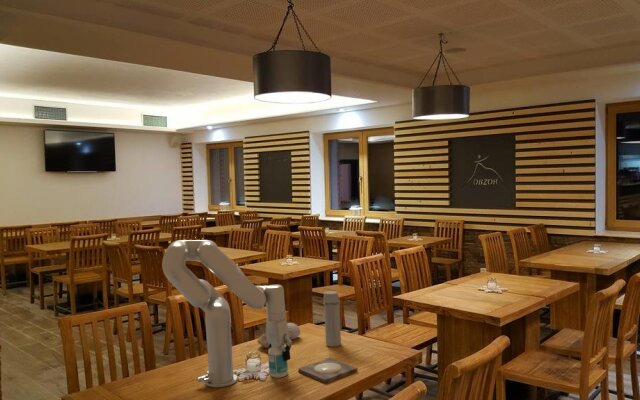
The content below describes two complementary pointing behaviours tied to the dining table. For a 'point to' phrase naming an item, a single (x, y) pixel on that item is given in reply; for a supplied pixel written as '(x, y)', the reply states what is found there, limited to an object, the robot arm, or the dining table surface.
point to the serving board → (327, 370)
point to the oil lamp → (263, 341)
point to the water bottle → (332, 318)
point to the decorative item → (293, 330)
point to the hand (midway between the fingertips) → (279, 357)
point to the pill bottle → (277, 362)
